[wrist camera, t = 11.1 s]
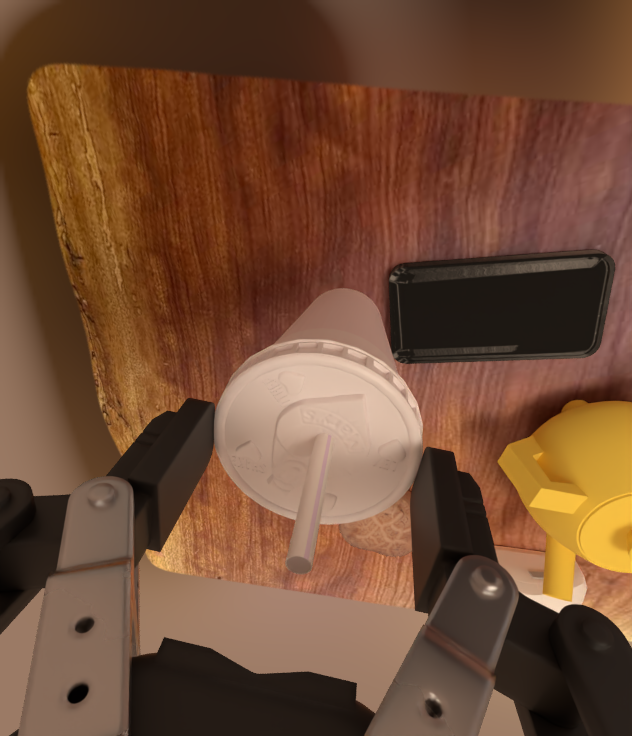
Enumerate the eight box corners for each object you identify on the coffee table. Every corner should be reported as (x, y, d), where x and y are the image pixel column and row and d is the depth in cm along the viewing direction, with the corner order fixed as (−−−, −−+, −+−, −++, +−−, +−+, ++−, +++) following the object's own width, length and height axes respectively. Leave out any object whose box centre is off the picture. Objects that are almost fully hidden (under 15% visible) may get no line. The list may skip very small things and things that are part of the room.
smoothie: (439, 314, 21) (512, 580, 9) (355, 404, 24) (319, 697, 11) (328, 230, 20) (228, 394, 7) (254, 334, 23) (96, 575, 10)
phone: (388, 268, 32) (618, 252, 29) (388, 264, 33) (611, 248, 30) (392, 365, 36) (597, 359, 33) (392, 359, 37) (592, 352, 34)
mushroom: (414, 545, 46) (445, 509, 41) (382, 590, 43) (412, 557, 37) (357, 496, 49) (379, 456, 43) (322, 535, 45) (341, 496, 40)
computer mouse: (565, 597, 47) (589, 659, 41) (438, 579, 48) (444, 636, 43) (585, 555, 44) (613, 616, 38) (448, 537, 45) (456, 593, 40)
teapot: (607, 554, 43) (670, 678, 33) (435, 490, 43) (448, 597, 33) (778, 391, 33) (937, 498, 24) (558, 306, 33) (627, 379, 23)
